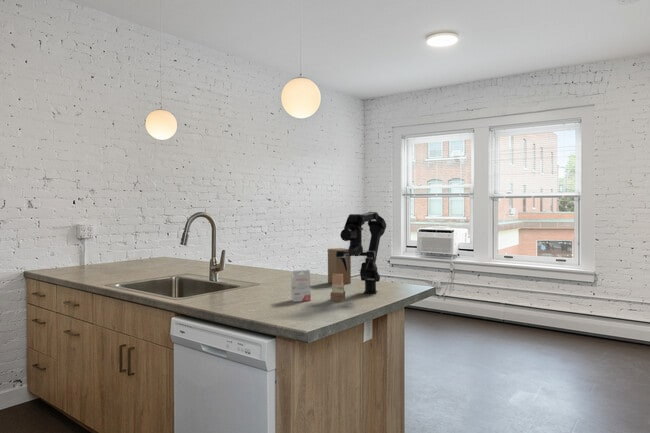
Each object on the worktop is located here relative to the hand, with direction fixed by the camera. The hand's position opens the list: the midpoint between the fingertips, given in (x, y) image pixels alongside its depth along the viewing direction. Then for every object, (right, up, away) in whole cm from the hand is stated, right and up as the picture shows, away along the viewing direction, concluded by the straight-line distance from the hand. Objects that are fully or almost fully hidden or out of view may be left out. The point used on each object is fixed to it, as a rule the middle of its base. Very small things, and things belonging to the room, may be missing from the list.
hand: (355, 271), depth 228 cm
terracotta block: (-9, -5, -5) cm, 12 cm away
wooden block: (-7, -12, +44) cm, 46 cm away
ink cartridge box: (-27, -14, -5) cm, 30 cm away
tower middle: (-9, -9, -5) cm, 14 cm away
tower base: (-9, -13, -5) cm, 17 cm away
